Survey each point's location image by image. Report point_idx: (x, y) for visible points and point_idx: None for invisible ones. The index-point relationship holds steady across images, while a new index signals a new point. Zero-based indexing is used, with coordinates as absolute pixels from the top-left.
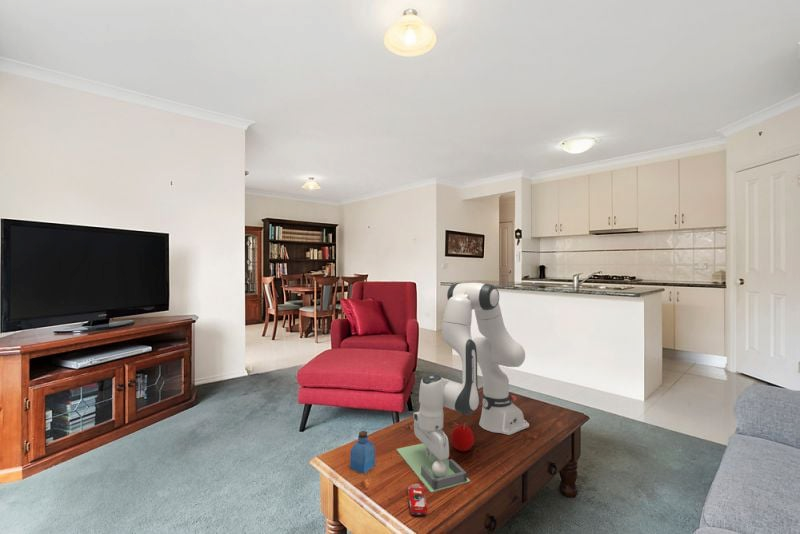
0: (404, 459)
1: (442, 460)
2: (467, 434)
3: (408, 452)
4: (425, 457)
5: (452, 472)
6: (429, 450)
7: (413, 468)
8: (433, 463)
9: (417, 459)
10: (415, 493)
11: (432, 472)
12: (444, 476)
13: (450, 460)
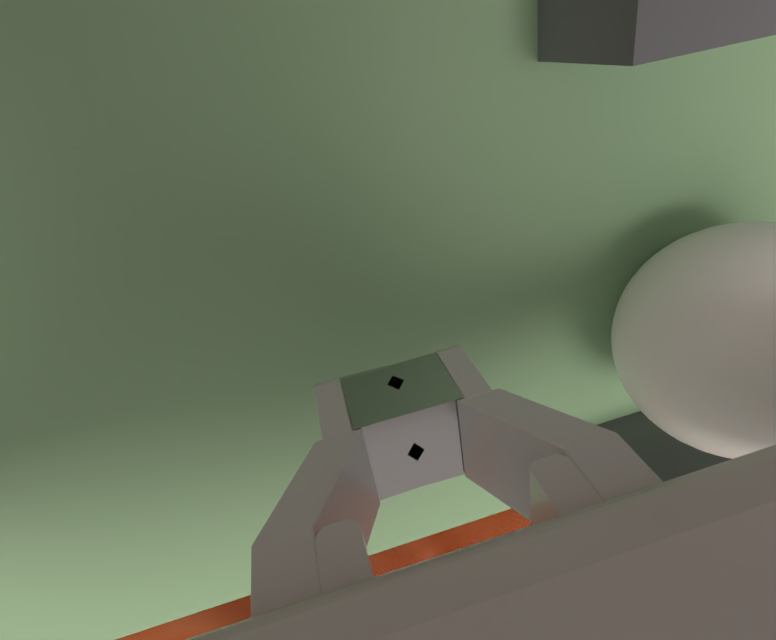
0: (205, 607)
1: (297, 109)
2: None
3: (8, 587)
4: (164, 387)
5: (684, 61)
6: (353, 502)
7: (415, 528)
8: (730, 457)
9: (219, 489)
10: None
11: (561, 354)
12: None
13: (677, 44)
